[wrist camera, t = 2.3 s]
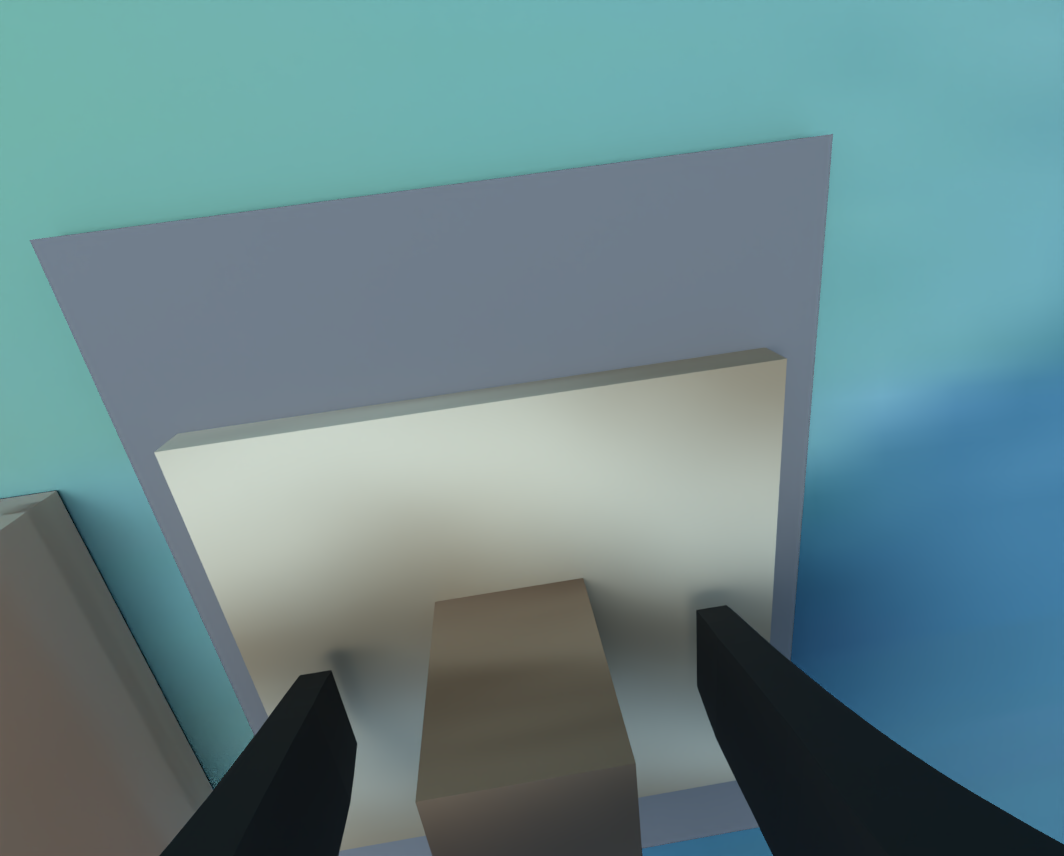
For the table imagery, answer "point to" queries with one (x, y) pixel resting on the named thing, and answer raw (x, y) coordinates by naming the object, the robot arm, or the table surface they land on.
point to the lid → (502, 588)
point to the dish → (79, 705)
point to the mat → (458, 327)
